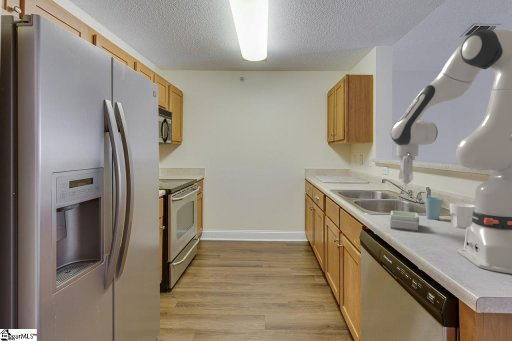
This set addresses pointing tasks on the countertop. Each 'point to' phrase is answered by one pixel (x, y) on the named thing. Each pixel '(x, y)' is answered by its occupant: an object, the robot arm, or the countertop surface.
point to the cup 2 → (461, 214)
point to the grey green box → (404, 216)
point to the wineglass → (401, 178)
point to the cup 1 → (433, 207)
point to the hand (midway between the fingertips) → (405, 182)
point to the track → (404, 225)
